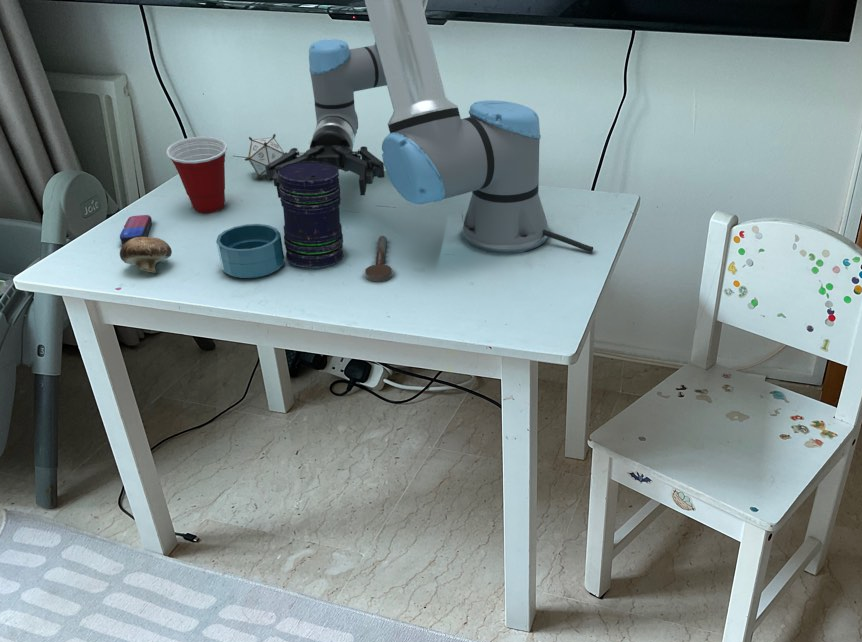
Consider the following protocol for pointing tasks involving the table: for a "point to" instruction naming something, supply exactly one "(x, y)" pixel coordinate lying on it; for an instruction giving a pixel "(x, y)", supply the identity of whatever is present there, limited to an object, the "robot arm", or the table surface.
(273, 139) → the game die
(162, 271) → the table surface
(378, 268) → the spoon
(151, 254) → the mushroom
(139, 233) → the eraser
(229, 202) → the table surface
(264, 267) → the bowl
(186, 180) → the plastic cup
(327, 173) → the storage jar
